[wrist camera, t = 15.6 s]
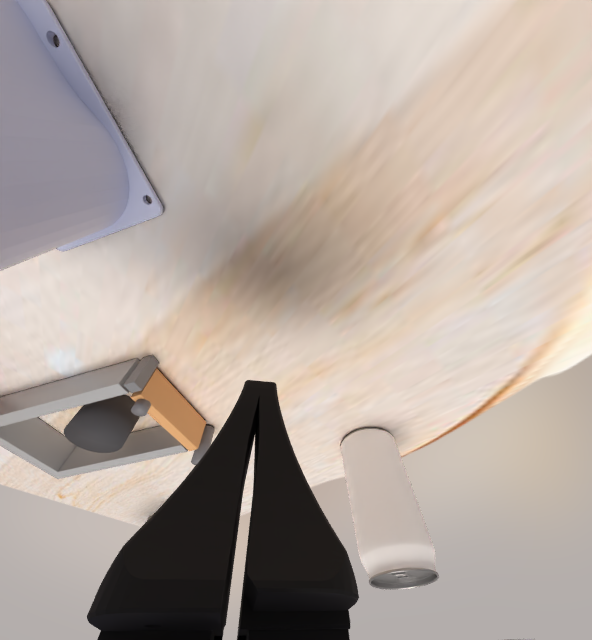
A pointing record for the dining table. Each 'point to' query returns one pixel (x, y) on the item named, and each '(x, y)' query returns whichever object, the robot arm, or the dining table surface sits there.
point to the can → (386, 513)
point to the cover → (173, 414)
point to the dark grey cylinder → (102, 425)
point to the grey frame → (51, 446)
